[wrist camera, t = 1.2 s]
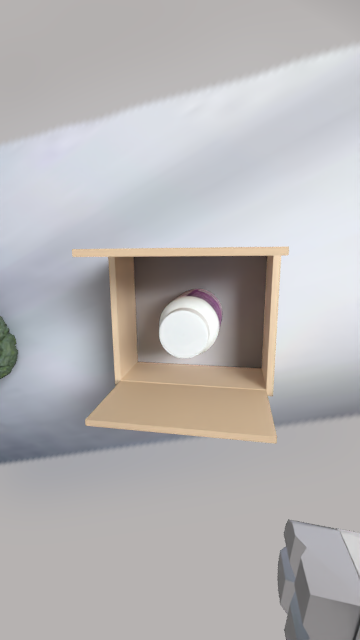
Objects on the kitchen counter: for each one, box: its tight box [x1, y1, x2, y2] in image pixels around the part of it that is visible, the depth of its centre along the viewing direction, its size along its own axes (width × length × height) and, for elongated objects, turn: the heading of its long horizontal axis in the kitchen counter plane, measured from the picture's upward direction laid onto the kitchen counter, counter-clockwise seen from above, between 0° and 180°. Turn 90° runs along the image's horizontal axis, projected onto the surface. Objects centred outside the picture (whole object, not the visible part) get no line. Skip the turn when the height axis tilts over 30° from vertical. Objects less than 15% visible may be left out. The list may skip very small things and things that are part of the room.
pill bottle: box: [159, 289, 222, 359], centre depth 29 cm, size 5×5×10 cm
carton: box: [72, 247, 289, 443], centre depth 27 cm, size 15×13×13 cm
